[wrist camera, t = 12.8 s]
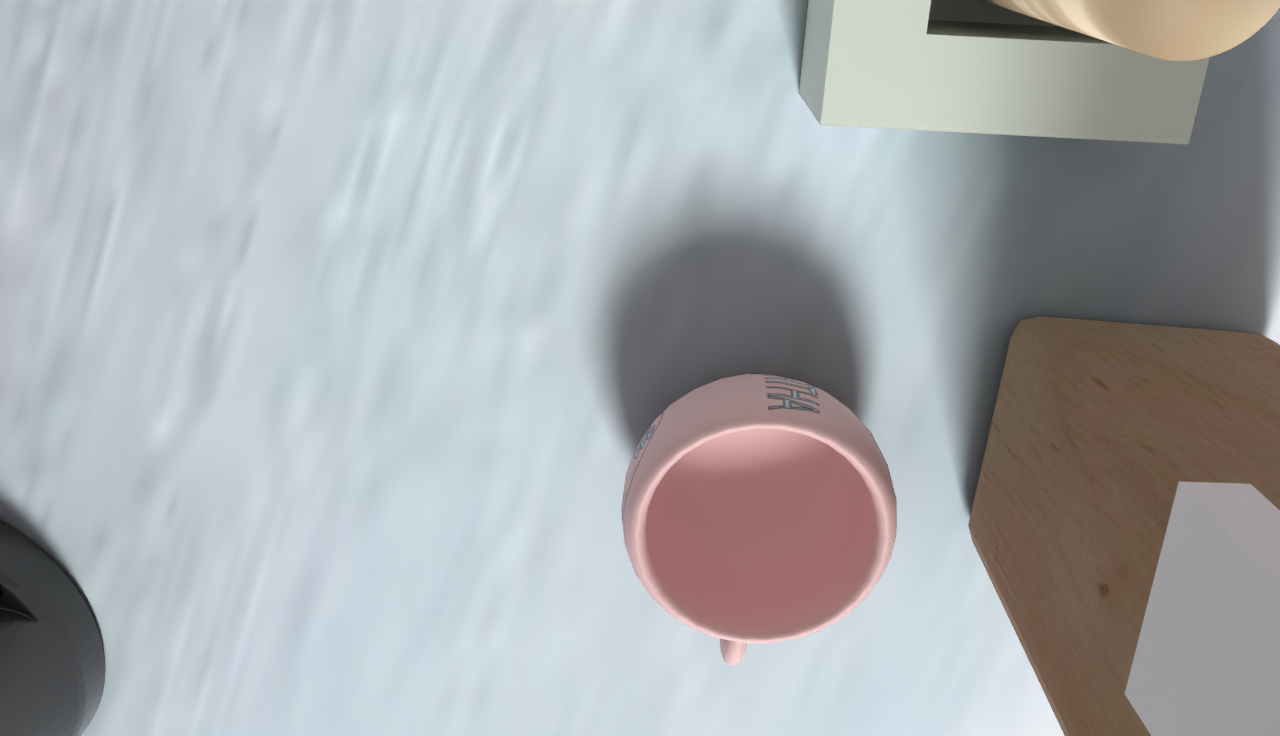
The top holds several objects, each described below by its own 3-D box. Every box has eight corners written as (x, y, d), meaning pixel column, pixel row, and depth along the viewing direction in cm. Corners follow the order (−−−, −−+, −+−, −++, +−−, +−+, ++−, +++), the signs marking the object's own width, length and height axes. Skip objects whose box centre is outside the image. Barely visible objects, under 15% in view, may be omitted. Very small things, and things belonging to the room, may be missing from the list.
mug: (641, 329, 42) (637, 393, 36) (897, 359, 42) (931, 427, 37) (609, 590, 47) (600, 681, 41) (839, 617, 47) (862, 711, 41)
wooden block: (1008, 304, 41) (1281, 628, 23) (1272, 326, 41) (1759, 666, 23) (957, 533, 45) (1156, 968, 27) (1199, 552, 45) (1564, 999, 27)
